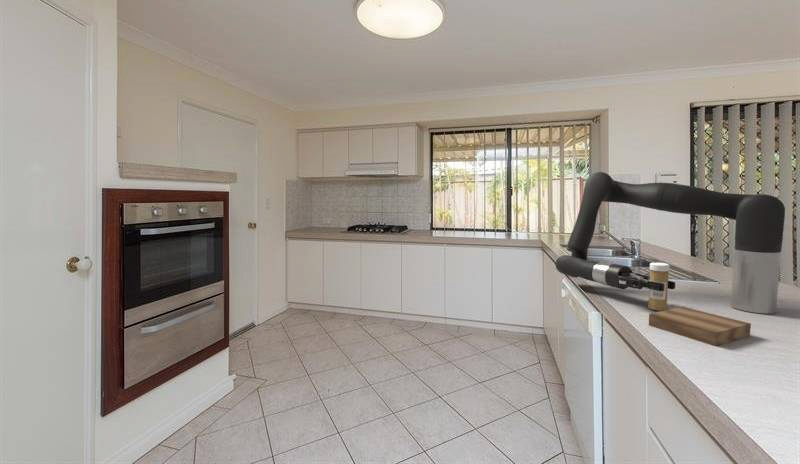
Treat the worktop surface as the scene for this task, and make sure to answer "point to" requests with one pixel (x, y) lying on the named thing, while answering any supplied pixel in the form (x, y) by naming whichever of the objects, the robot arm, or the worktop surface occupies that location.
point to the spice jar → (661, 276)
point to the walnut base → (700, 325)
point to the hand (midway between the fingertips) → (668, 286)
